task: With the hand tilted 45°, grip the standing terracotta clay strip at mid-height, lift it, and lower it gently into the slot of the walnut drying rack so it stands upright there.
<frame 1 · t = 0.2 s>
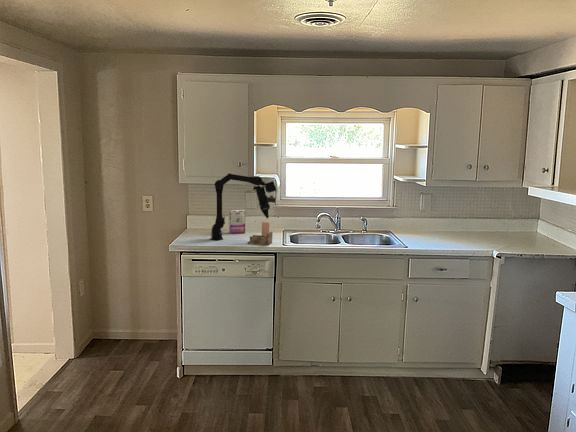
hand: (267, 217, 318), 15 cm above the countertop, tool tilted 15°, fingers open, 9 cm apart
drying rack: (260, 243, 309), on the countertop
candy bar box: (236, 233, 341), on the countertop
clay strip: (265, 241, 316), on the countertop
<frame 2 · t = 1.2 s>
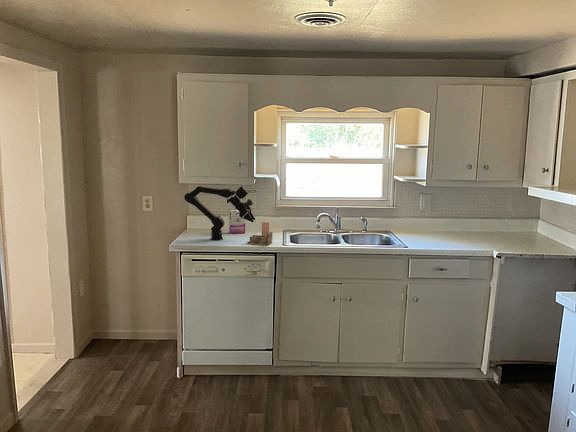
hand: (254, 220, 314), 13 cm above the countertop, tool tilted 45°, fingers open, 9 cm apart
nothing on the countertop moved.
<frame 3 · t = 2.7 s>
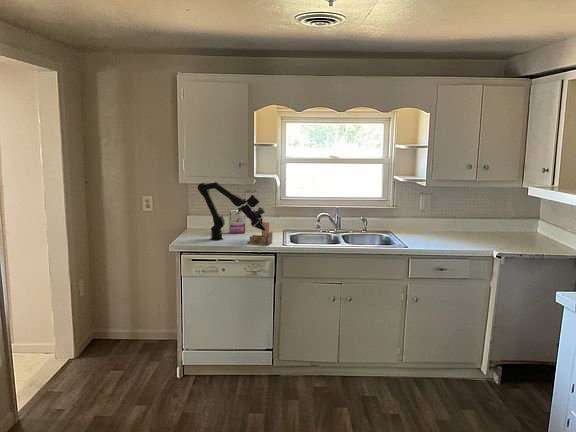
hand: (265, 229, 315), 8 cm above the countertop, tool tilted 45°, fingers open, 9 cm apart
nothing on the countertop moved.
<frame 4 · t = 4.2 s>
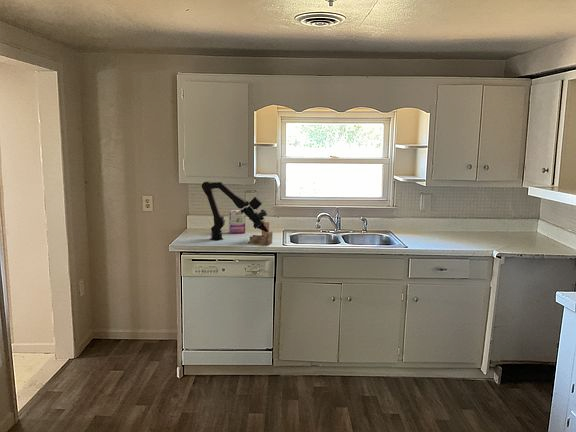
hand: (267, 231, 315), 7 cm above the countertop, tool tilted 45°, fingers closed on clay strip, 3 cm apart
clay strip: (265, 241, 316), on the countertop, touching gripper
everything else where it was.
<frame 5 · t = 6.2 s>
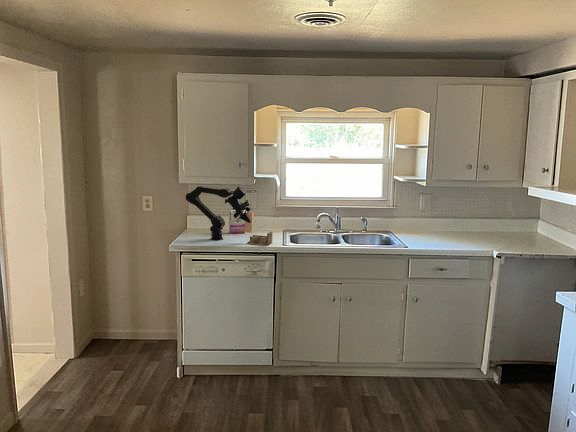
hand: (251, 222, 308), 13 cm above the countertop, tool tilted 45°, fingers closed on clay strip, 2 cm apart
clay strip: (248, 232, 310), point 7 cm above the countertop, touching gripper
everything else where it was.
when the fingers open (9 cm above the countertop, at t = 8.6 s): clay strip drops 1 cm, resting on drying rack.
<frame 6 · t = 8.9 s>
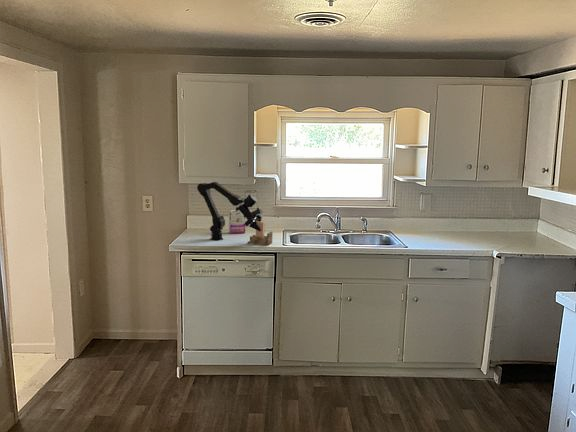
hand: (262, 230, 307), 9 cm above the countertop, tool tilted 45°, fingers open, 6 cm apart
clay strip: (259, 241, 308), point 1 cm above the countertop, touching drying rack
everything else where it was.
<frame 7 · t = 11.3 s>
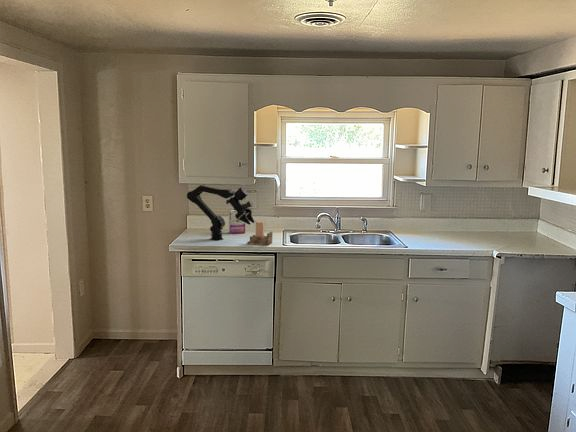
hand: (252, 223, 309), 13 cm above the countertop, tool tilted 45°, fingers open, 9 cm apart
nothing on the countertop moved.
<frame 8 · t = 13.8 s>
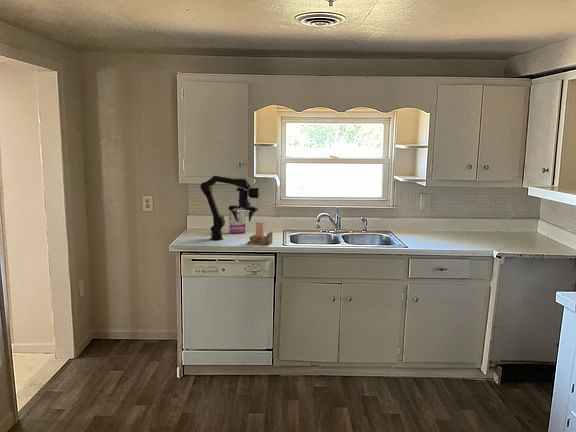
hand: (243, 221, 313), 13 cm above the countertop, tool pointing down, fingers open, 9 cm apart
nothing on the countertop moved.
at the end: clay strip 0.2 cm off-centre on the drying rack, point 1.0 cm above the drying rack's base; clay strip tilted 0°; the gripper is holding nothing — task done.
